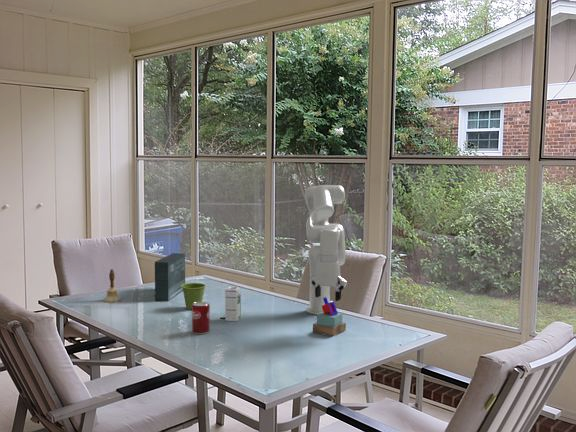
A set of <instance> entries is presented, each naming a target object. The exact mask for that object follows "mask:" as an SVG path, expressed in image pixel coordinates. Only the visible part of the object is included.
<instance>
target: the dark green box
mask: <svg viewBox="0 0 576 432" xmlns="http://www.w3.org/2000/svg"><path fill="white" fill-rule="evenodd" d="M183 284H186V253H180V252H179V253H178V252H177V253H175V252H173V253H170V254H169V255H166V256H165V257H162V258H160V259H158V260H156V261H154V302H170V301H171V300H172V299H174V298H175V297H177V296H178V295H180V294H181V293H182V292H183V289H182V287H181V285H183Z"/></svg>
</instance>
